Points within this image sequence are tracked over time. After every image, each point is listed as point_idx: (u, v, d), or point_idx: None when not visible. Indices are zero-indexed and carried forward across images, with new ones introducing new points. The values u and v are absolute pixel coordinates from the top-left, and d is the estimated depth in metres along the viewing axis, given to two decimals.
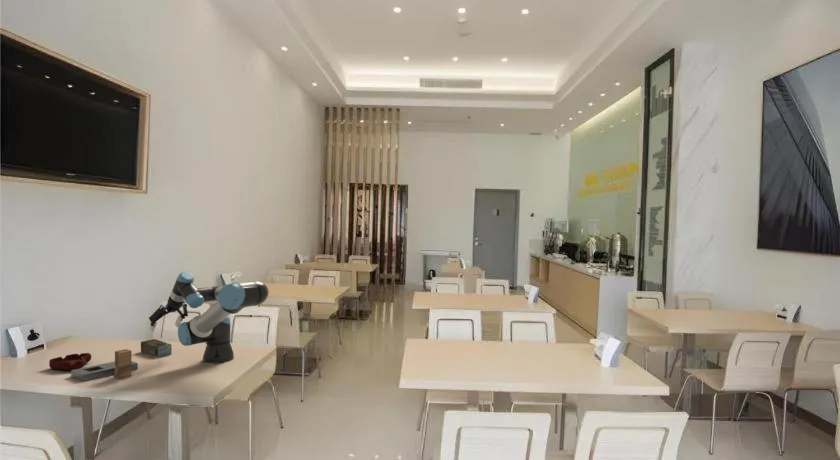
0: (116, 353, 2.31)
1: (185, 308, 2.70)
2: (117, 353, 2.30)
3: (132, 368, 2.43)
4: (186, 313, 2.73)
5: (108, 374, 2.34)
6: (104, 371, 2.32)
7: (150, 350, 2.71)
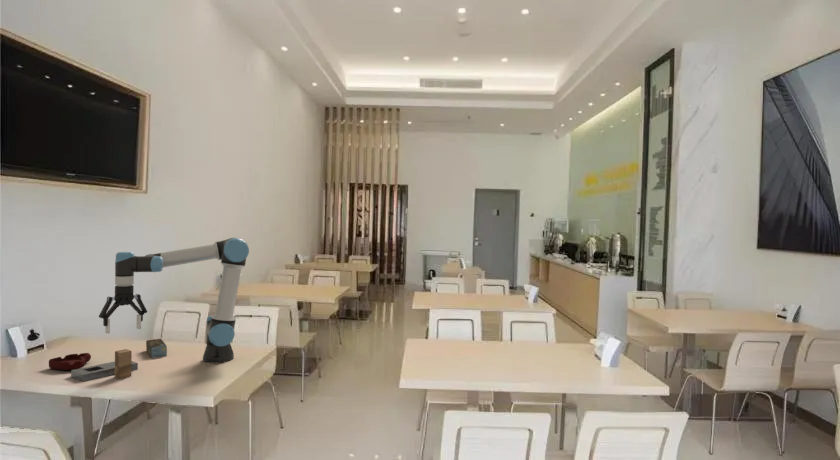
0: (116, 353, 2.31)
1: (140, 300, 2.38)
2: (117, 353, 2.30)
3: (132, 368, 2.43)
4: (144, 308, 2.40)
5: (108, 374, 2.34)
6: (104, 371, 2.32)
7: (148, 350, 2.72)
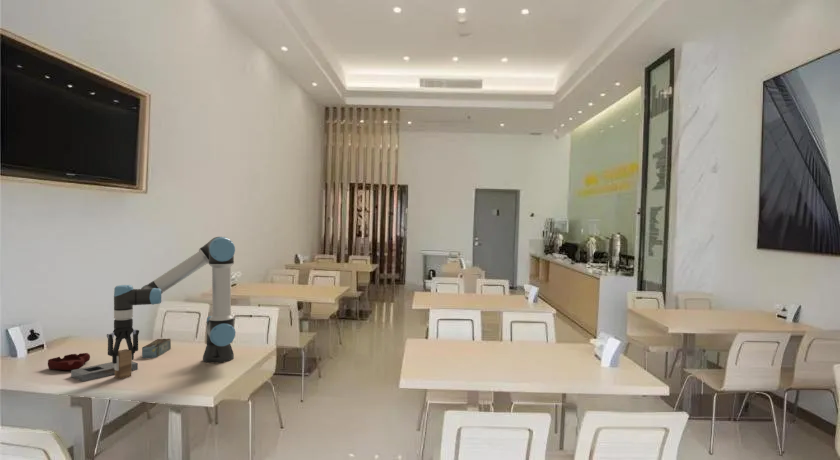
0: None
1: (136, 336, 2.36)
2: None
3: (132, 368, 2.43)
4: (136, 345, 2.36)
5: (108, 374, 2.34)
6: (104, 371, 2.32)
7: None
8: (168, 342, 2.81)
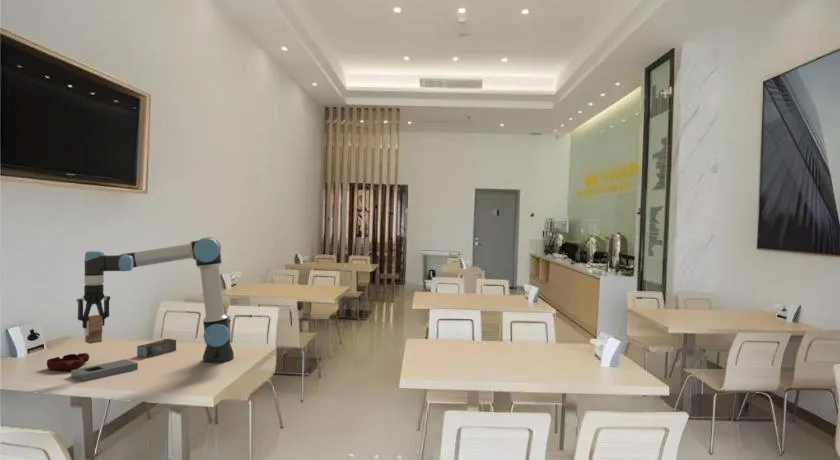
0: None
1: (107, 302, 2.38)
2: None
3: (132, 368, 2.43)
4: (107, 311, 2.38)
5: (108, 374, 2.34)
6: (104, 371, 2.32)
7: None
8: (171, 343, 2.79)
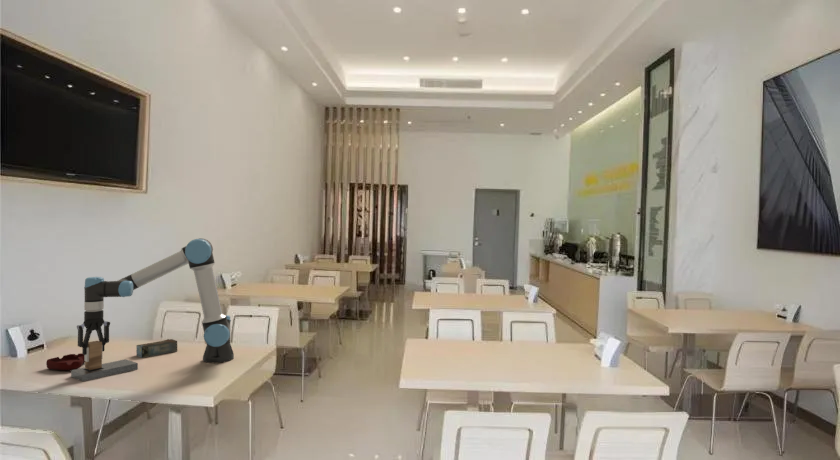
0: None
1: (107, 327, 2.38)
2: None
3: (132, 368, 2.43)
4: (107, 337, 2.38)
5: (108, 374, 2.34)
6: (104, 371, 2.32)
7: None
8: (171, 344, 2.77)
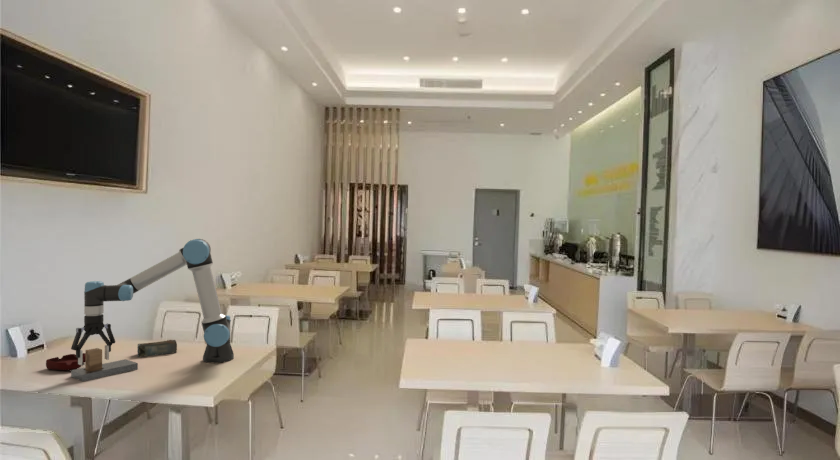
0: (87, 352, 2.32)
1: (109, 329, 2.38)
2: (87, 352, 2.32)
3: (132, 368, 2.43)
4: (112, 338, 2.40)
5: (108, 374, 2.34)
6: (104, 371, 2.32)
7: None
8: (169, 345, 2.75)
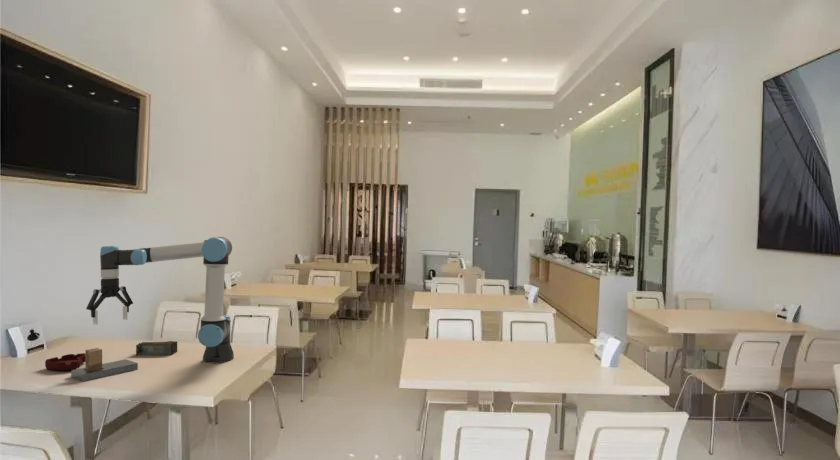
0: (87, 352, 2.32)
1: (125, 292, 2.47)
2: (87, 352, 2.32)
3: (132, 368, 2.43)
4: (129, 299, 2.49)
5: (108, 374, 2.34)
6: (104, 371, 2.32)
7: None
8: (165, 346, 2.71)
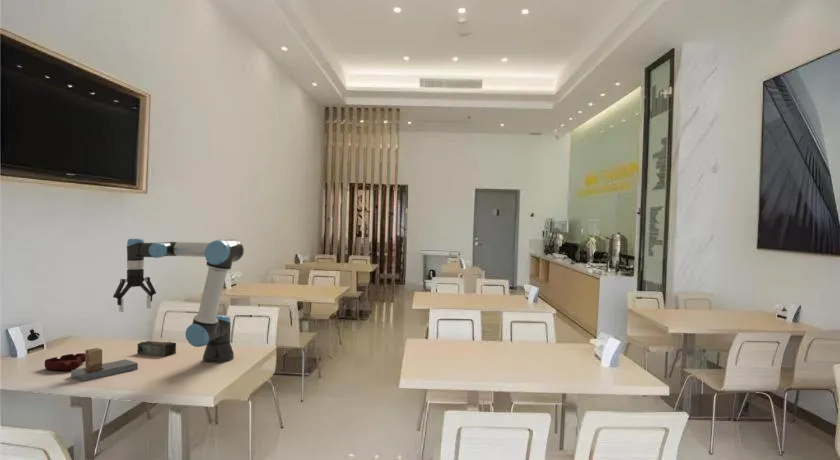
0: (87, 352, 2.32)
1: (149, 282, 2.63)
2: (87, 352, 2.32)
3: (132, 368, 2.43)
4: (153, 289, 2.64)
5: (108, 374, 2.34)
6: (104, 371, 2.32)
7: None
8: (160, 347, 2.69)
